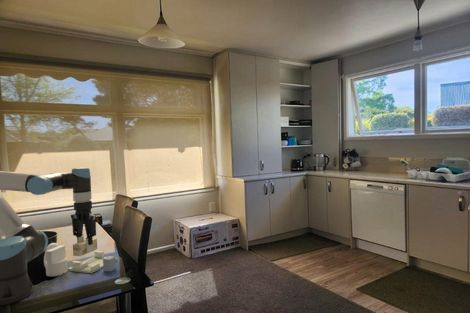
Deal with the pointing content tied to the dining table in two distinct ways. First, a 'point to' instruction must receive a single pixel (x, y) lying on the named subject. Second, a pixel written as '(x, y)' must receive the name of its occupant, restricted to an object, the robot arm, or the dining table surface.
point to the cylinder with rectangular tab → (56, 261)
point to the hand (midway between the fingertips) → (85, 251)
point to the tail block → (109, 263)
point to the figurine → (49, 249)
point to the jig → (89, 263)
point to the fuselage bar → (83, 247)
